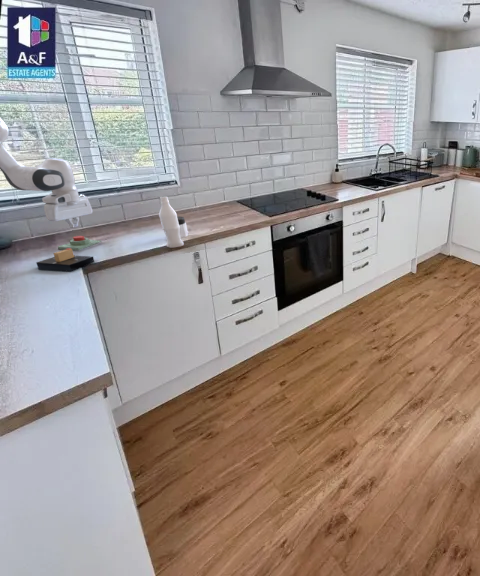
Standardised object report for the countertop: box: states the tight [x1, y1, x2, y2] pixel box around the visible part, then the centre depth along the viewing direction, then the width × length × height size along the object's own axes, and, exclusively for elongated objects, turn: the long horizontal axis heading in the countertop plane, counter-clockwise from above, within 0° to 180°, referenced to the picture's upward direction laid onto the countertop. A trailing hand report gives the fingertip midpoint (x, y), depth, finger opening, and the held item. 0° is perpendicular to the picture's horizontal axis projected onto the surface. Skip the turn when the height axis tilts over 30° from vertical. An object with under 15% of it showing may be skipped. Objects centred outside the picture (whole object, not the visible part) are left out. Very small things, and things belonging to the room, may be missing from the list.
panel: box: [35, 254, 95, 273], centre depth 148 cm, size 14×11×3 cm
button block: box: [57, 237, 102, 251], centre depth 172 cm, size 10×13×4 cm
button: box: [72, 235, 85, 241], centre depth 171 cm, size 4×4×2 cm
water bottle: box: [158, 195, 185, 249], centre depth 169 cm, size 7×7×25 cm
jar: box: [177, 216, 189, 239], centre depth 185 cm, size 9×8×12 cm
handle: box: [53, 248, 75, 262], centre depth 147 cm, size 6×2×4 cm, turn 174°
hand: (74, 227), depth 169 cm, fingers closed
